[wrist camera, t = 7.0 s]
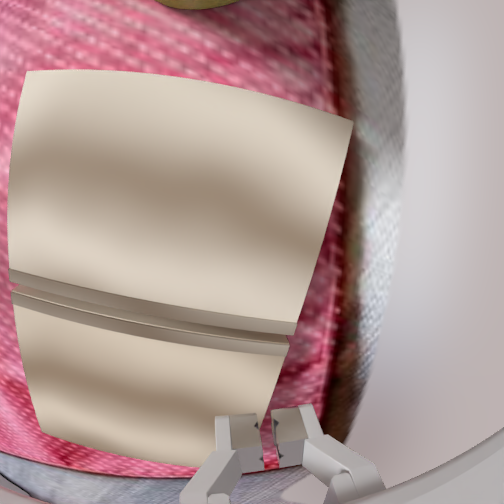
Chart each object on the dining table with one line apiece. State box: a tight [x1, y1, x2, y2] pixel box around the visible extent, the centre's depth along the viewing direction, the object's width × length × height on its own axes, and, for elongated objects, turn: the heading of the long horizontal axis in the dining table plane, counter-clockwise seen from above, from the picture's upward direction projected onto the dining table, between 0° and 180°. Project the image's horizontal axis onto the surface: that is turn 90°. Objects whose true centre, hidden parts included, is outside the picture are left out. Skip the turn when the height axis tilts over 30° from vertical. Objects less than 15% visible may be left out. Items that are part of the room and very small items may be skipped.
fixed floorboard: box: [7, 70, 354, 335], centre depth 11 cm, size 9×13×2 cm
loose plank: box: [11, 284, 290, 467], centre depth 14 cm, size 10×13×2 cm
